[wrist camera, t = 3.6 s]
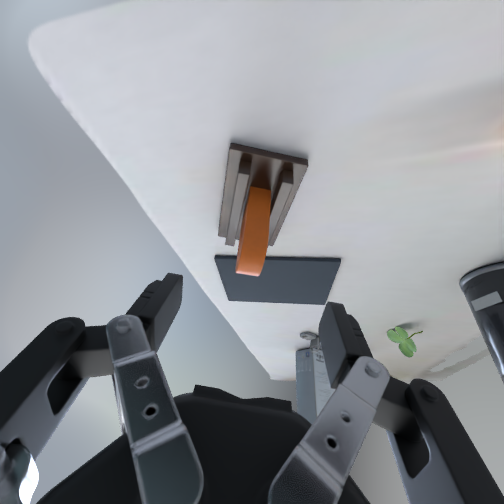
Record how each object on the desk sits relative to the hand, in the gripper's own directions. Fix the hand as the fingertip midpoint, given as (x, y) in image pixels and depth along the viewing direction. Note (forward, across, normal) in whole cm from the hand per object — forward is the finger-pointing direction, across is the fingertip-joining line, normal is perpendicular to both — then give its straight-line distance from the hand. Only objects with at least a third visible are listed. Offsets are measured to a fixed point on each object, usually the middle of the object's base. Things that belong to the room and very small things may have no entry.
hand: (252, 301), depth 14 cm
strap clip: (+43, -21, +40) cm, 63 cm away
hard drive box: (+52, -28, +55) cm, 80 cm away
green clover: (+39, -39, +30) cm, 62 cm away
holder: (+20, +1, 0) cm, 20 cm away
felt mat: (+29, -5, +16) cm, 34 cm away
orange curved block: (+19, +1, 0) cm, 19 cm away
